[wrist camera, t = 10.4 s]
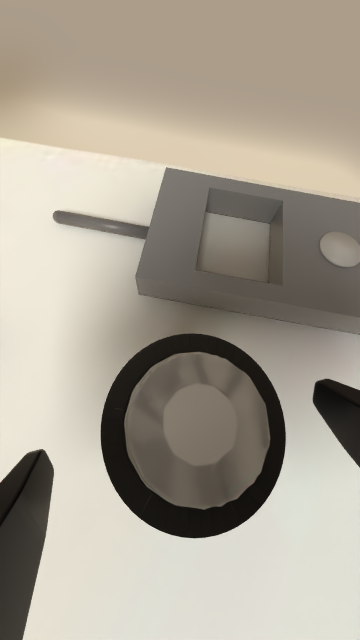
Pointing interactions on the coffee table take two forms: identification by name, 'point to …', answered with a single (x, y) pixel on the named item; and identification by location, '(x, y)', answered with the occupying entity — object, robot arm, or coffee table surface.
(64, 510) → the coffee table surface
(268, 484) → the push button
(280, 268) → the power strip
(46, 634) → the coffee table surface
